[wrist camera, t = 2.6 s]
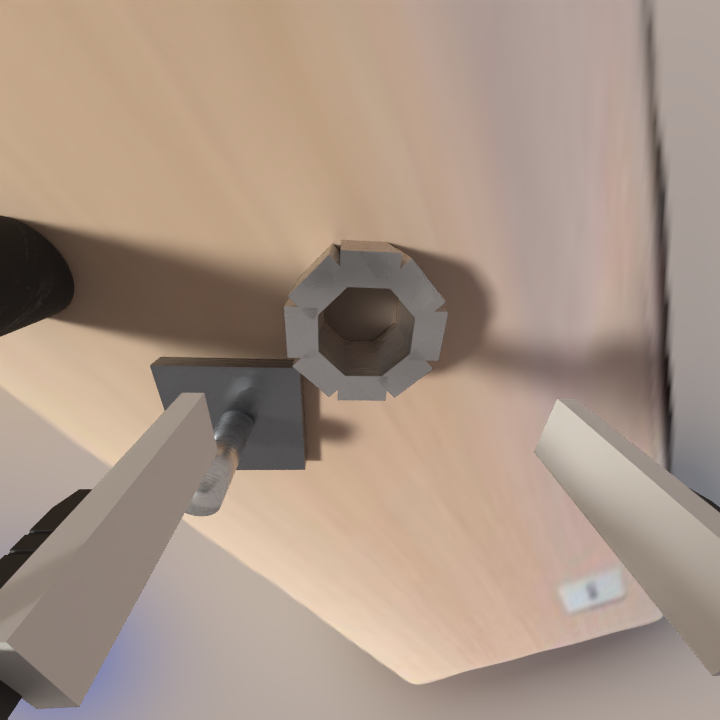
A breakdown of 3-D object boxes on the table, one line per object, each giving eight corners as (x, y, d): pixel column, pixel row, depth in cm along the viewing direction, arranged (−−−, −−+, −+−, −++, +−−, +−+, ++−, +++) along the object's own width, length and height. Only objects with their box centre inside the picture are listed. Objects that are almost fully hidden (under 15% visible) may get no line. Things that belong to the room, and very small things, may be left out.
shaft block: (160, 357, 24) (64, 433, 16) (301, 360, 25) (281, 434, 17) (191, 458, 30) (132, 555, 22) (306, 458, 31) (292, 551, 22)
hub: (295, 237, 21) (279, 247, 15) (430, 244, 21) (459, 255, 16) (301, 360, 25) (290, 399, 20) (412, 362, 26) (430, 401, 21)
